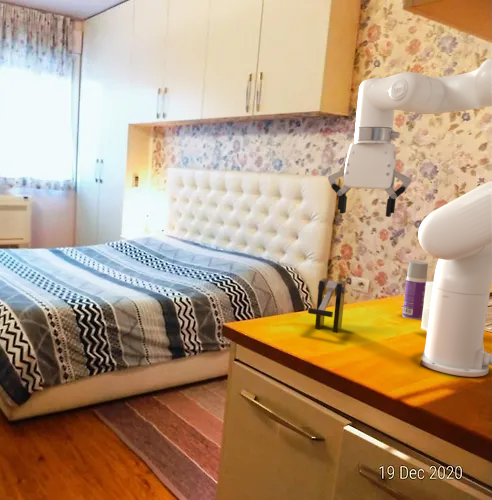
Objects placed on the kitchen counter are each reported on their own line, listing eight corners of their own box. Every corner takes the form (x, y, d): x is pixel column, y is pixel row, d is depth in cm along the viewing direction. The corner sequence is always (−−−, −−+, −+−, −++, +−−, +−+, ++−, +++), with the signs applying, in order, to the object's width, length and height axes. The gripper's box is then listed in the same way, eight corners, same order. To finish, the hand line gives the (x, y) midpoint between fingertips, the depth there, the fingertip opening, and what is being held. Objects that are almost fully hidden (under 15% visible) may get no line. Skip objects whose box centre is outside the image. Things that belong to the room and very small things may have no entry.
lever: (331, 320, 110) (331, 311, 109) (308, 316, 112) (307, 307, 111) (344, 291, 118) (344, 282, 117) (322, 288, 121) (322, 279, 120)
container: (424, 320, 134) (431, 264, 132) (405, 319, 135) (411, 263, 133) (418, 315, 139) (425, 261, 136) (400, 314, 140) (406, 260, 137)
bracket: (340, 343, 114) (346, 287, 112) (304, 336, 118) (309, 282, 116) (349, 332, 122) (355, 279, 120) (315, 326, 126) (320, 275, 124)
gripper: (418, 138, 111) (409, 216, 114) (335, 138, 120) (329, 211, 123) (415, 135, 105) (405, 219, 108) (328, 136, 114) (321, 213, 117)
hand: (364, 214), depth 115 cm, fingers open, 9 cm apart
